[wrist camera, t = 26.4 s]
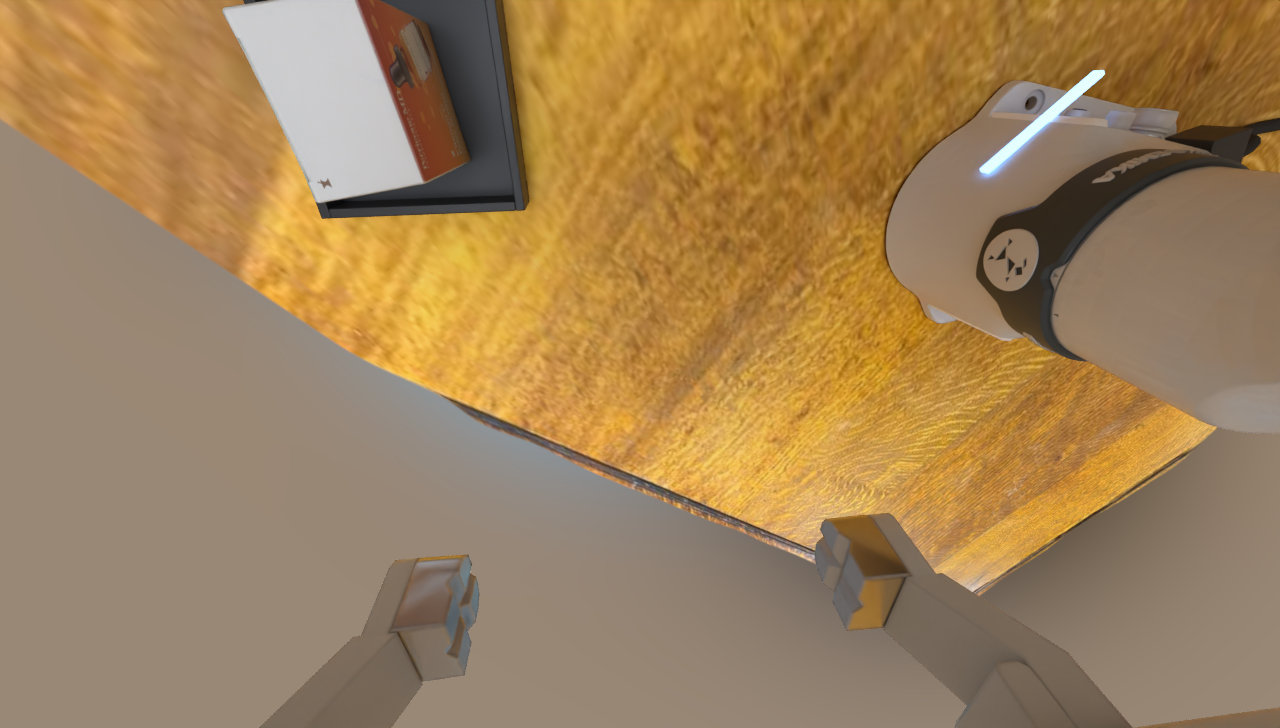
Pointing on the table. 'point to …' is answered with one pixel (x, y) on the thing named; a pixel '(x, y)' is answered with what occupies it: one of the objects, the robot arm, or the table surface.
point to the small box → (353, 92)
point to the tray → (462, 118)
